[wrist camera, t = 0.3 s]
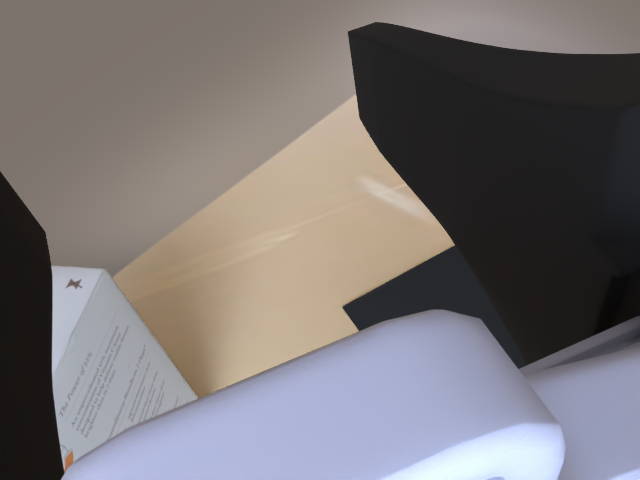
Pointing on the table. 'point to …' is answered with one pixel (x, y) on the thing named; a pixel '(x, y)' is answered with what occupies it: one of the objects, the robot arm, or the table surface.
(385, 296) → the placemat
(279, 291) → the table surface
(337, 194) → the table surface
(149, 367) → the small box
